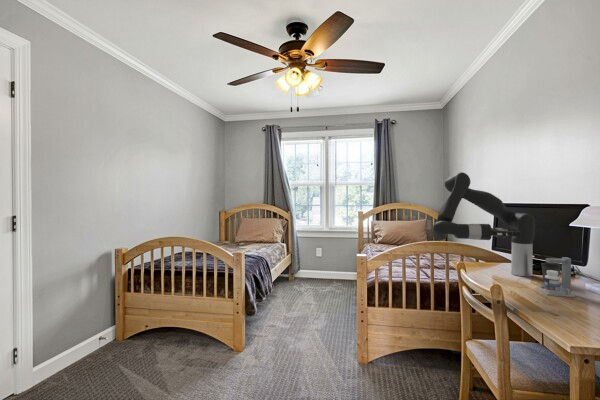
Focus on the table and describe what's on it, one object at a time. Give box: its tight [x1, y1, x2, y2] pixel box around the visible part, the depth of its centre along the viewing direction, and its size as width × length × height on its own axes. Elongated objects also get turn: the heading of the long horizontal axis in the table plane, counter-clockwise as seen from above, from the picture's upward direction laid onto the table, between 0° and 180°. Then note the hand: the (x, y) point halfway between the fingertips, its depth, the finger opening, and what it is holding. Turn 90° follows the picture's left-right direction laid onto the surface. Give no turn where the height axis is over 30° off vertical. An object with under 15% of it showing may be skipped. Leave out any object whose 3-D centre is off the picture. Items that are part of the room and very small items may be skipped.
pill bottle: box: [544, 270, 561, 291], centre depth 135 cm, size 5×5×9 cm
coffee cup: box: [540, 261, 562, 284], centre depth 149 cm, size 8×8×10 cm
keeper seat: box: [536, 256, 576, 298], centre depth 135 cm, size 10×10×16 cm
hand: (518, 232), depth 138 cm, fingers open, 8 cm apart
